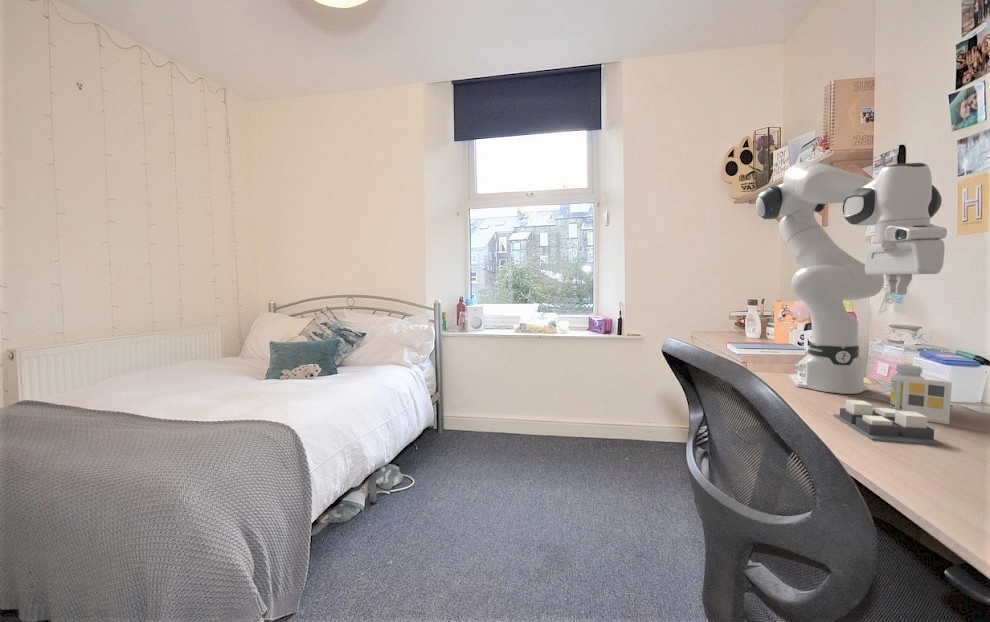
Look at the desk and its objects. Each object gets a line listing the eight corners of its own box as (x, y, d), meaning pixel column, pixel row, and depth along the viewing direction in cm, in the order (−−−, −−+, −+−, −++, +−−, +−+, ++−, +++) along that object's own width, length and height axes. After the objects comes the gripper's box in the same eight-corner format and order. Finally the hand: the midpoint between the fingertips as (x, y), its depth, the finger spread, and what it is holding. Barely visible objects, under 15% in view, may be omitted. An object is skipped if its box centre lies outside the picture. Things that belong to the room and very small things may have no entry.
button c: (845, 411, 99) (846, 399, 99) (863, 412, 98) (863, 400, 98) (853, 416, 96) (854, 404, 95) (872, 417, 95) (873, 405, 94)
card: (901, 415, 102) (903, 376, 101) (948, 422, 96) (951, 381, 95) (901, 416, 101) (903, 377, 100) (949, 424, 95) (951, 383, 94)
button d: (861, 427, 93) (862, 414, 92) (881, 429, 92) (881, 416, 91) (871, 433, 89) (872, 420, 89) (891, 434, 88) (892, 421, 88)
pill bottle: (932, 414, 102) (935, 369, 101) (902, 413, 103) (904, 368, 103) (911, 406, 108) (913, 364, 108) (883, 405, 110) (885, 363, 109)
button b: (894, 423, 91) (895, 410, 91) (914, 424, 90) (915, 411, 90) (905, 429, 87) (906, 415, 87) (926, 430, 86) (927, 417, 86)
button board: (833, 416, 102) (834, 405, 102) (891, 419, 99) (892, 409, 99) (872, 440, 87) (872, 427, 87) (942, 445, 84) (943, 433, 83)
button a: (874, 419, 98) (875, 407, 97) (893, 421, 97) (894, 408, 96) (884, 424, 94) (885, 412, 94) (903, 426, 93) (904, 413, 93)
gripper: (858, 239, 103) (855, 293, 104) (915, 230, 84) (911, 296, 85) (888, 238, 101) (885, 293, 102) (954, 228, 82) (949, 296, 83)
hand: (897, 294), depth 93 cm, fingers closed
